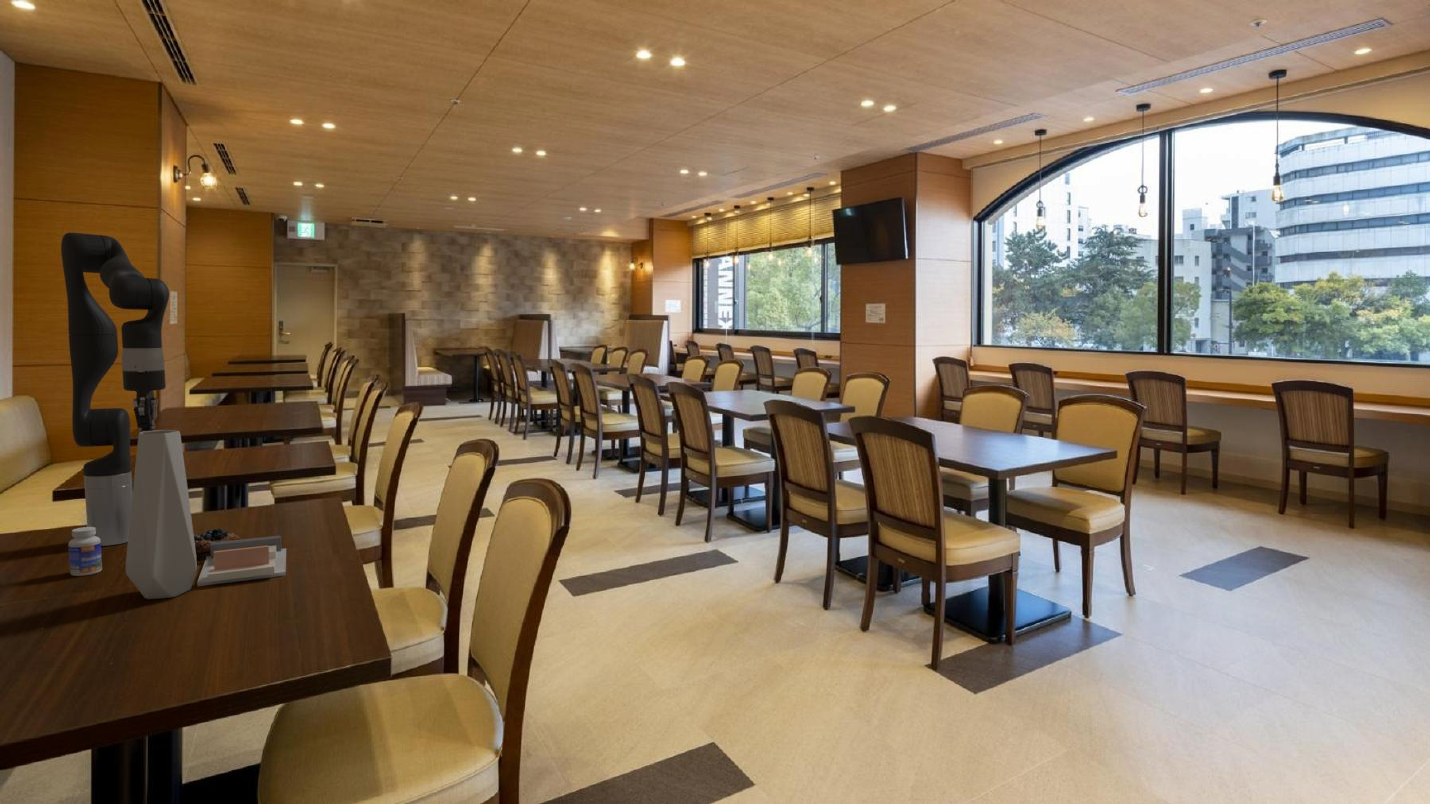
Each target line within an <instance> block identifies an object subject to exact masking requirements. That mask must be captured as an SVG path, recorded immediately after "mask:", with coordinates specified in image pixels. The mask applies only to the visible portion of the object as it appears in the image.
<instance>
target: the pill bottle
mask: <svg viewBox="0 0 1430 804" xmlns="http://www.w3.org/2000/svg"><path fill="white" fill-rule="evenodd" d="M95 534H96V528H95V527H87V526H85V527H84V526H83V527H78V528H74V529H72V530H71V537H72V538H73V539H70V541H68V558H69V559H68V561H69V572H70V573H69V574H70V575H71V576H75V577H84V576H90V575H94V574H98V573H100V572H101V571H102V570H103V561H102V560H103V559H102V546H101V542H100V538H99V537H96V536H95Z"/></svg>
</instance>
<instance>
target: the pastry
mask: <svg viewBox="0 0 1430 804" xmlns="http://www.w3.org/2000/svg"><path fill="white" fill-rule="evenodd" d="M193 534H194V541H195V549H196V562H197V561H199V562H201V561H205V560H206V557H210V556H211V550H210V545H211V543H212V542H222V541H231V540H241V539H242V538H241V537H240V536H239V535H238V534H236V533H234V532H231V533H228V532H227V531H226V530H222V528H220V527H218V528H214V529H208V530H207V531H206V533H202V534H200V535H196V534H195V533H193Z"/></svg>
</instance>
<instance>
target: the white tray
mask: <svg viewBox="0 0 1430 804" xmlns="http://www.w3.org/2000/svg"><path fill="white" fill-rule="evenodd" d="M267 545H269V561H272V560H275V574H269V575H261V576H253V577H245V578H236V579H228V580H220V581H212V582H208V575H207V574H208V571H209V569H210V568H212V567H214V551H220V550H230V549H239V548H248V547H258V546H267ZM210 550H211V556H210V557H206V560H204V563H203V566H202V569H201V571H200V573H199V577H198V579H197V582H196V585H197V586H196V587H203V586H212V585H220V584H226V583H234V582H241V581H243V582H244V581H250V580H251V581H252V580H259V579H267V578H268V579H270V578H276V577H282V576H286V572H287V570H286V569H287V548H286V547H285V548H282V535H272V536H270V535H269V536H262V537H252V538H244V539H243V538H241V540H231V541H222V542H212V543H211V545H210Z"/></svg>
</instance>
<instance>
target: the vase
mask: <svg viewBox="0 0 1430 804" xmlns="http://www.w3.org/2000/svg"><path fill="white" fill-rule="evenodd" d="M135 456H136V458H135V465H134V466H135V467H134V476H133V477H134V478H133V484H132V489H133V495H132V505H131V515H130V526H129V536H128V542H127V546H126V547H127V548H126V559H125V574H126V576H127V578H129V580H130V581H131V582H132V583H133V585H134V586H135V587H136V589H137V590H138V591H139V593H140V594H141V595H142V596H143V598H144V599H145V600H146V599H147V600H158V599H170V598H175V597H178V596H180V595H182V594H185V593H186V592H188V591H190V590H191V589H192V586H193V583H194V580H195V577H196V574H197V569H198V564H197V560H196V549H195V541H194V534H195V533H194V527H193V519H192V512H191V503H190V495H189V488H188V480H187V475H186V473H187V472H186V467H185V460H184V459H185V458H184V451H183V444H182V436H181V431H179V430H173V429H157V430H155V429H154V431H143V432H141V431H140V432H139V433H138V437H137V447H136V455H135Z"/></svg>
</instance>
